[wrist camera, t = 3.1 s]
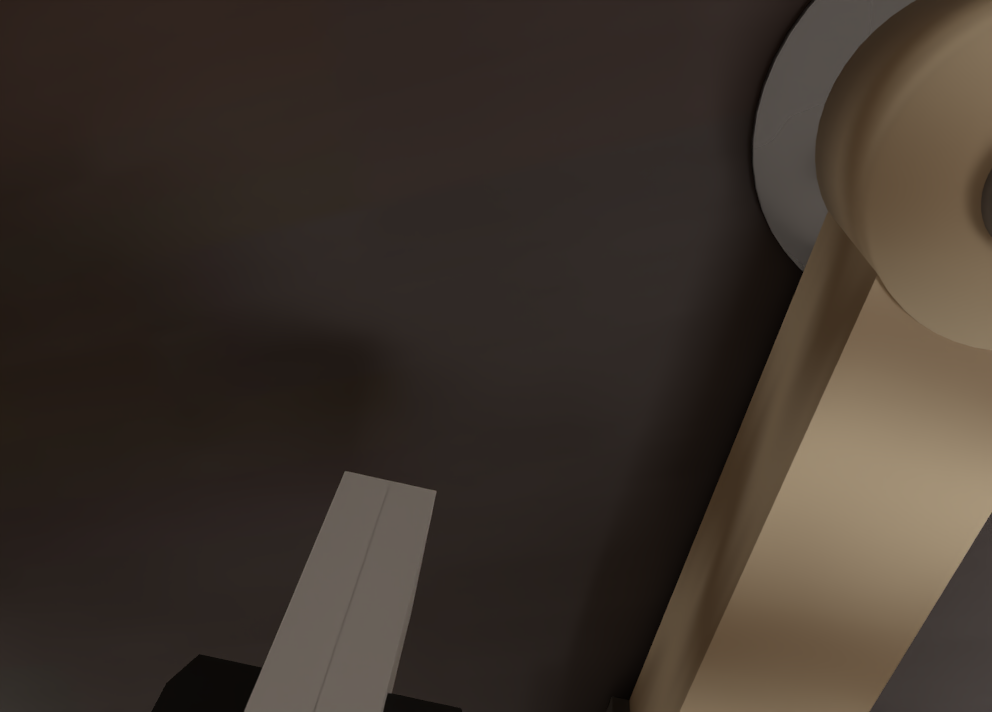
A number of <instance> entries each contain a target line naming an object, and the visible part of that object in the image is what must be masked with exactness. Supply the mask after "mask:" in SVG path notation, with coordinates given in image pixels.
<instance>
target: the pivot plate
mask: <svg viewBox="0 0 992 712" xmlns="http://www.w3.org/2000/svg"><path fill="white" fill-rule="evenodd" d="M914 1H916V0H812V1H811V2H810V3H809V4H808V5H807V7H806V8H805V9H804V11H803V12H802V13H801V15H800V16H799V17H798V19H797V20H796V22H795V23H794V24H793V26H792V27H791V29H790V30H789V31H788V33H787V35H786V37H785V38H784V40H783V42H782V44H781V46H780V47H779V49H778V51H777V53H776V55H775V56H774V58H773V61H772V63H771V66H770V68H769V70H768V73H767V75H766V78H765V80H764V83H763V85H762V89H761V92H760V96H759V100H758V103H757V107H756V111H755V117H754V125H753V132H752V169H753V177H754V184H755V189H756V192H757V196H758V199H759V203H760V206H761V209H762V212H763V214H764V216H765V218H766V220H767V223H768V225H769V227H770V229H771V231H772V233H773V234H774V236H775V237H776V239H777V240H778V242H779V244H780V245H781V247H782V248H783V250H784V251H785V252H786V254H787V255H788V256H789V257H790V258H791V259H792V260H793V262H794V263H795V264H796V265H797V266H798V267H799V268H800V269H801V270H802V271H803V272H804V269H805V267H806V264H807V262H808V259H809V257H810V254H811V252H812V249H813V247H814V244H815V242H816V240H817V237H818V235H819V232H820V230H821V227H822V225H823V222H824V220H825V217H826V215H827V212H828V210H827V208H826V206H825V203H824V201H823V198H822V196H821V193H820V189H819V185H818V181H817V175H816V165H815V147H816V137H817V131H818V126H819V121H820V118H821V115H822V111H823V108H824V105H825V102H826V100H827V98H828V95H829V93H830V91H831V89H832V87H833V84H834V83H835V81H836V79H837V78H838V76H839V74H840V73H841V71H842V69H843V68H844V66H845V64H846V63H847V62H848V60H849V59H850V58H851V57H852V55H853V54H854V53H855V51H856V50H857V49H858V47H859V46H860V45H861V44H862V43H863V42H864V41H865V40H866V39H867V38H868V37H869V36H870V35H871V34H872V33H873V32H874V31H875V30H876V29H877V28H878V27H879V26H881V25H882V24H883V23H884V22H885V21H887V20H888V19H889V18H890V17H891V16H893V15H894V14H896V13H897V12H898V11H900V10H901V9H903V8H904V7H906V6H907V5H909V4H910V3H912V2H914Z"/></svg>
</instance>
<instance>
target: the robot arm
mask: <svg viewBox="0 0 992 712" xmlns="http://www.w3.org/2000/svg"><path fill="white" fill-rule="evenodd" d="M436 492H437V491H435V490H430V489H425V488H421V487H416V486H412V485H407V484H403V483H398V482H393V481H389V480H384V479H380V478H375V477H370V476H366V475H361V474H357V473H352V472H348V471H345V472H344V474H343V477H342V479H341V482H340V484H339V486H338V489H337V491H336V494H335V496H334V498H333V501H332V503H331V505H330V508H329V510H328V513H327V515H326V517H325V520H324V522H323V525H322V527H321V529H320V532H319V534H318V536H317V539H316V541H315V544H314V546H313V548H312V551H311V553H310V556H309V558H308V560H307V563H306V565H305V567H304V570H303V572H302V575H301V577H300V579H299V582H298V584H297V587H296V589H295V591H294V594H293V596H292V598H291V601H290V603H289V606H288V608H287V610H286V613H285V615H284V618H283V620H282V622H281V625H280V627H279V630H278V632H277V634H276V637H275V639H274V641H273V644H272V646H271V649H270V651H269V653H268V656H267V658H266V661H265V663H264V665H263V668H261V667H256V666H251V665H247V664H242V663H237V662H233V661H228V660H223V659H219V658H214V657H209V656H205V655H200V654H199V655H198V656H197V657H196V658H194V659H193V660H192V661H191V662H190V663H189V664H188V665H187V666H185V667H184V668H183V669H182V670H181V671H180V672H179V673H177V674H176V675H175V676H174V677H173V678H172V679H171V680H170V681H168V682H167V683H166V685H165V687H164V689H163V691H162V693H161V695H160V697H159V698H158V700H157V702H156V704H155V706H154V708H153V710H152V712H462V710H461V708H457V707H452V706H447V705H443V704H438V703H433V702H429V701H424V700H419V699H415V698H410V697H405V696H401V695H396V694H392V690H393V686H394V682H395V678H396V673H397V669H398V665H399V661H400V657H401V653H402V649H403V645H404V641H405V637H406V632H407V628H408V624H409V620H410V616H411V612H412V607H413V602H414V598H415V593H416V588H417V583H418V578H419V573H420V569H421V564H422V559H423V554H424V549H425V545H426V540H427V535H428V530H429V525H430V520H431V516H432V511H433V506H434V501H435V496H436Z"/></svg>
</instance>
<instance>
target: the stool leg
mask: <svg viewBox="0 0 992 712" xmlns="http://www.w3.org/2000/svg"><path fill="white" fill-rule="evenodd" d="M815 165H816V175H817V181H818V185H819V189H820V193H821V196H822V198H823V201H824V203H825V206H826V208H827V210H828V212H827V215H826V217H825V220H824V222H823V225H822V227H821V230H820V232H819V235H818V237H817V240H816V242H815V244H814V247H813V249H812V252H811V254H810V257H809V259H808V262H807V264H806V267H805V269H804V272H803V274H802V276H801V279H800V281H799V284H798V286H797V289H796V291H795V294H794V296H793V299H792V301H791V304H790V306H789V308H788V311H787V313H786V316H785V318H784V321H783V323H782V326H781V328H780V331H779V333H778V336H777V338H776V340H775V343H774V345H773V348H772V350H771V353H770V355H769V358H768V360H767V363H766V365H765V368H764V370H763V372H762V375H761V377H760V380H759V382H758V385H757V387H756V390H755V392H754V395H753V397H752V400H751V402H750V404H749V407H748V409H747V412H746V414H745V417H744V419H743V422H742V424H741V427H740V429H739V432H738V434H737V436H736V439H735V441H734V444H733V446H732V449H731V451H730V454H729V456H728V459H727V461H726V464H725V466H724V468H723V471H722V473H721V476H720V478H719V481H718V483H717V486H716V488H715V491H714V493H713V496H712V498H711V500H710V503H709V505H708V508H707V510H706V513H705V515H704V518H703V520H702V523H701V525H700V528H699V530H698V532H697V535H696V537H695V540H694V542H693V545H692V547H691V550H690V552H689V555H688V557H687V560H686V562H685V564H684V567H683V569H682V572H681V574H680V577H679V579H678V582H677V584H676V587H675V589H674V592H673V594H672V596H671V599H670V601H669V604H668V606H667V609H666V611H665V614H664V616H663V619H662V621H661V624H660V626H659V628H658V631H657V633H656V636H655V638H654V641H653V643H652V646H651V648H650V651H649V653H648V656H647V658H646V660H645V663H644V665H643V668H642V670H641V673H640V675H639V678H638V680H637V683H636V685H635V688H634V690H633V692H632V695H631V697H630V700H626V699H622V698H617V697H613V696H612V698H611V700H610V703H609V706H608V708H607V711H606V712H869V711H870V710H871V708H872V706H873V705H874V703H875V702H876V700H877V698H878V697H879V695H880V693H881V692H882V690H883V688H884V687H885V685H886V684H887V682H888V680H889V679H890V677H891V675H892V674H893V672H894V671H895V669H896V667H897V666H898V664H899V662H900V661H901V659H902V657H903V656H904V654H905V653H906V651H907V649H908V648H909V646H910V644H911V643H912V641H913V640H914V638H915V636H916V635H917V633H918V631H919V630H920V628H921V627H922V625H923V623H924V622H925V620H926V618H927V617H928V615H929V613H930V612H931V610H932V609H933V607H934V605H935V604H936V602H937V600H938V599H939V597H940V596H941V594H942V592H943V591H944V589H945V587H946V586H947V584H948V582H949V581H950V579H951V578H952V576H953V574H954V573H955V571H956V569H957V568H958V566H959V565H960V563H961V561H962V560H963V558H964V556H965V555H966V553H967V552H968V550H969V548H970V547H971V545H972V543H973V542H974V540H975V538H976V537H977V535H978V534H979V532H980V530H981V529H982V527H983V525H984V524H985V522H986V521H987V519H988V517H989V516H990V514H991V512H992V0H916V1H914V2H912V3H910V4H909V5H907V6H906V7H904V8H903V9H901V10H900V11H898V12H897V13H896V14H894V15H893V16H891V17H890V18H889V19H888V20H887V21H885V22H884V23H883V24H882V25H881V26H879V27H878V28H877V29H876V30H875V31H874V32H873V33H872V34H871V35H870V36H869V37H868V38H867V39H866V40H865V41H864V42H863V43H862V44H861V45H860V46H859V47H858V49H857V50H856V51H855V53H854V54H853V55H852V57H851V58H850V59H849V60H848V62H847V63H846V64H845V66H844V68H843V69H842V71H841V73H840V74H839V76H838V78H837V79H836V81H835V83H834V84H833V87H832V89H831V91H830V93H829V95H828V98H827V100H826V102H825V105H824V108H823V111H822V115H821V118H820V121H819V126H818V131H817V137H816V147H815Z"/></svg>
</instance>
